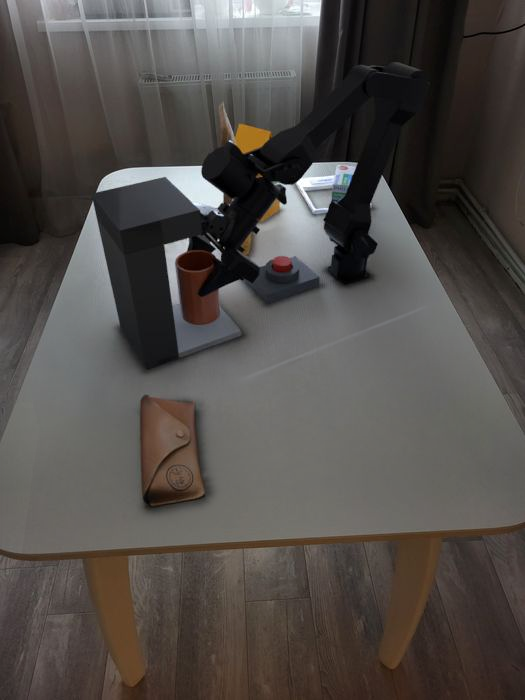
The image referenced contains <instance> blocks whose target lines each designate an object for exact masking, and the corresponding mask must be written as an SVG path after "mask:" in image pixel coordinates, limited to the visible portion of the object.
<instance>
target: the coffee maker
mask: <svg viewBox="0 0 525 700" xmlns="http://www.w3.org/2000/svg"><path fill="white" fill-rule="evenodd" d="M91 198H92V203H93V207H94V212H95V217H96V221H97V225H98V230H99V231H98V232H99V235H100V239H101V244H102V249H103V253H104V254H103V255H104V259H105V263H106V268H107V273H108V277H109V281H110V286H111V291H112V295H113V299H114V304H115V309H116V312H117V313H116V314H117V318H118V322H119V327H120V329H121V331H122V333H123V334H124V336H125V338H126V339H127V341H128V343H129V345H130V346H131V347H132V349H133V351H134V352H135V354H136V356H137V357H138V360H139V362H141V364H142V366H143V368H144V369H145V371H148V370H151V369H154V368H156V367H158V366H161V365H164V364H167V363H170V362H172V361H176V360H178V359H181V358H183V357H186V356H189V355H192V354H195V353H198V352H200V351H203V350H206V349H208V348H211V347H213V346H216V345H219V344H222V343H225V342H228V341H230V340H233V339H235V338H240V337H241V336H242V330H241V329H240V327H239V326H238V325H237V324H236V322H234V320H233V319H232V318H231V317H230V316H229V315H228V314H227V312H226V311H225V310H224V309H223V308H222V307H221V306H220V315H219V317H218V318H217V319H216V320H215V321H214V322H212V323H209V324H205V325H193V324H190V323H188V322H186V321H185V320H184V319H183V318H182V314H181V308H180V302H179V303H176V304H173V300H172V299H173V298H172V293H171V284H170V277H169V270H168V262H167V255H166V248H165V245H169V244H172V243H176V242H179V241H184V240H187V239H189V238H191V237H194V236H198V235H202V229H201V217H200V209H198V208H197V207H196V206H195V205H194V204H193V203H194V202H193V201H191V200H190V199H189V198H188V197H187V196H186V195H185V194H184V193H183V192H182V191H181V190H180V189H179V188H178V187H177V186H175V184H173V182H172V181H171V180H170V179H168V178H167V177H166V176H162V177H158V178H154V179H150V180H144V181H141V182H136V183H132V184H128V185H123V186H119V187H114V188H110V189H105V190H101V191H96V192H92V193H91ZM192 202H193V203H192Z"/></svg>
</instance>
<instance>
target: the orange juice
mask: <svg viewBox="0 0 525 700" xmlns="http://www.w3.org/2000/svg"><path fill="white" fill-rule="evenodd" d="M234 137H235V141H236V144H237V147H238V148H239V149H240V150H241V151H242V153H243V154H244V153H247V152H249V151H252V150H255V149H257V148H260V147H262V146H263V145H264V144H265V143H266V142H267V141H268V140H270V139H271V138H272V137H274V136H273V134H272V131H270V130H266V129H263V128H260V127H259V128H258V127H255V126H251V125H247V124H243V123H240V122H239V123H238V127H237V130H236V133H235V135H234ZM257 177H263V176H262V175H260V174H258V175H257V176H256V178H257ZM272 183H273V184H278V183H280V182H272ZM280 184H281V183H280ZM279 211H280V201H278V200H277V199H276V200H275V202H274V203H273V204H272V206H271V207H270V208H269V210H268V211H267V212H266V214H265V215H264V216H263V218H262V219H261V220H260V222H259V223H263V222H264V221H266V220H268V219H269V218H270V217H272V216H273V215H275V214H276V213H278V212H279Z"/></svg>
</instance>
